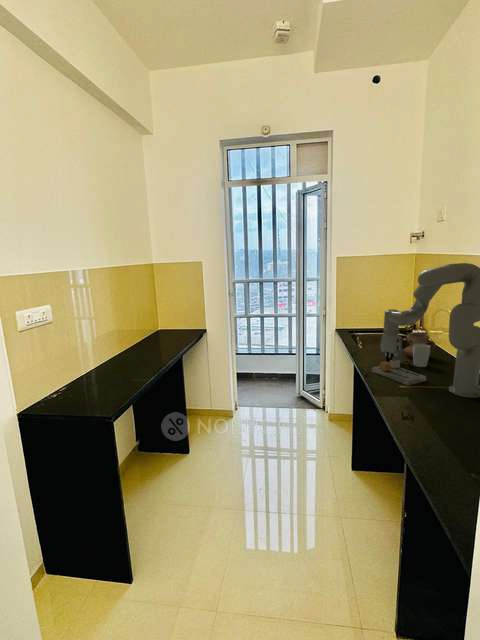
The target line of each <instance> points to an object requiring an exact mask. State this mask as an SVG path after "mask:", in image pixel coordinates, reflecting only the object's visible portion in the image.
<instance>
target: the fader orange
mask: <svg viewBox="0 0 480 640" xmlns="http://www.w3.org/2000/svg"><path fill="white" fill-rule="evenodd" d="M379 366H380V369H381V370H384V371H387V370H390V367H391V363H389V362H386V360H385V361H381V362H380V364H379Z"/></svg>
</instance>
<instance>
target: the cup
mask: <svg viewBox="0 0 480 640" xmlns="http://www.w3.org/2000/svg"><path fill="white" fill-rule="evenodd" d="M430 350H431V345H429V344H413V357H412V359H413V360H412V361H413V366H415V367H418V368H426V367H427V365H428V362H429V358H430V355H431V354H430Z"/></svg>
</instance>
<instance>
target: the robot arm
mask: <svg viewBox="0 0 480 640" xmlns="http://www.w3.org/2000/svg"><path fill="white" fill-rule="evenodd" d="M417 283H418V286H417V287H416V288H415V290H414V291H413V293H412V295H413V297H414V298H415V302H414V303H413V305H412V306H411V308H410V309H409V310H403V311H400V310H397V309H394V308H393V309H392V308H391V309H389V308H388V309H386V310H385V311H384V317H383V333H382V334H381V338H380V346H379V347H380V352H381V353H383V354H384V357H385V361H386V362H389V363H390V360H392V357H394V356H398V353H399V352H400V337H401V335H400V334H401V333H400V331H399V327H400V326H401V327H405V326H408V325H409V326H410V325H414V324H416V323H417V322H419V321H420V320H421V319H422V318H423V316H424V315H425V313H427V310H428V308H429V305H430V302H431V300H432V299H433V298H434V296H435V295H436V293H437V292H439V290H441V288H442V287H443V286H444V285H448V284H449V285H450V284H455V283H456V284H457V283H463V284H464V286H463V288H462V293H461V303H459V304H456V305H454V307H452V309H451V311H450V313H449V319H448V320H449V321H448V322H449V324H448V341H449V344H450V345H451V347H453V348H454V349H456V357H455V363H454V374H453V383H452V385H450V386H449V387H448V391H449V392H450V393H452V394H454V395H456V396H460V397H463V398H472V399H473V398H475V399H476V398H479V397H480V384H479V381H480V326H478V325H475V323H479V322H480V266H477V265H476V264H473V263H467V262H461V263H460V262H459V263H449V264H444V265H441V266H436V267H431V268H428V269H424V270H422V271H421V272H420V273H419V274H418V277H417Z"/></svg>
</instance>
